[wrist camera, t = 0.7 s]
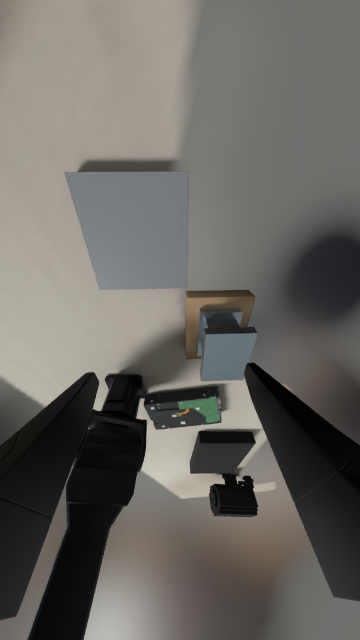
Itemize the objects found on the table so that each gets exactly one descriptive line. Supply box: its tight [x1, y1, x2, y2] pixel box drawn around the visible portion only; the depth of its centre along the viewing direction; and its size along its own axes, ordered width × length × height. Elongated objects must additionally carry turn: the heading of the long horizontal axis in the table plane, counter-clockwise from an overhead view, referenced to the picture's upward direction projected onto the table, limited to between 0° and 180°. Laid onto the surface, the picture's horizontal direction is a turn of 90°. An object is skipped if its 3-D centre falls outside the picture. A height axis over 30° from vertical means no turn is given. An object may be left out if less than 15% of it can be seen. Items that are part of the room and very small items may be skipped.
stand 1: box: [64, 171, 189, 290], centre depth 16 cm, size 10×10×2 cm
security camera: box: [209, 474, 258, 517], centre depth 58 cm, size 7×18×10 cm, turn 70°
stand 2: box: [185, 290, 255, 359], centre depth 22 cm, size 10×8×2 cm
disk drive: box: [144, 387, 221, 430], centre depth 34 cm, size 10×3×15 cm
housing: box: [196, 308, 258, 381], centre depth 19 cm, size 7×5×5 cm
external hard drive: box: [190, 431, 256, 474], centre depth 47 cm, size 14×23×3 cm, turn 176°
